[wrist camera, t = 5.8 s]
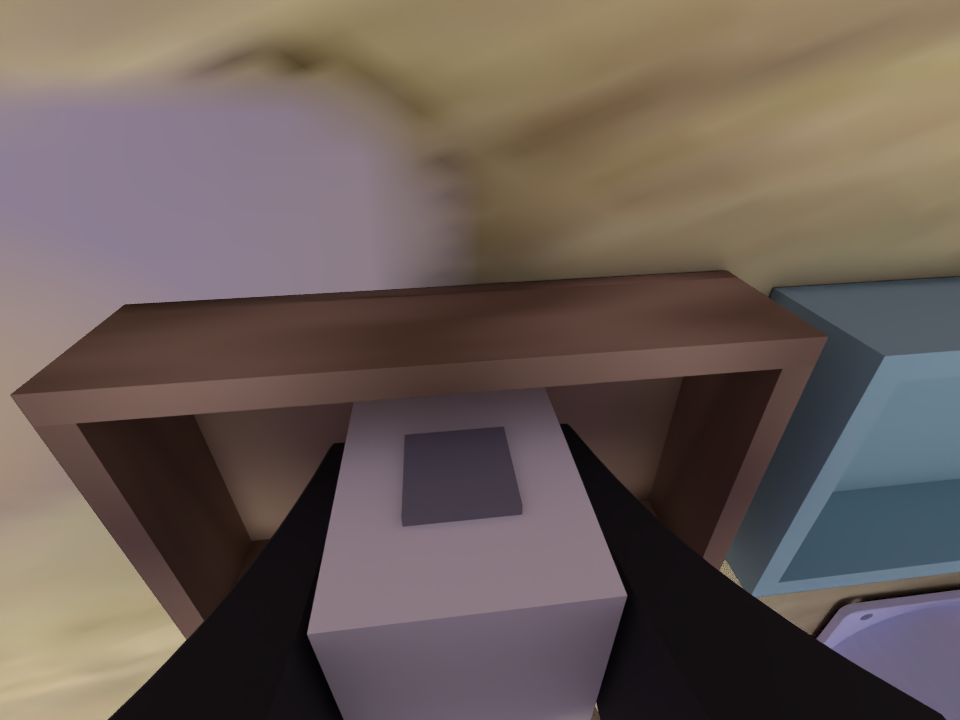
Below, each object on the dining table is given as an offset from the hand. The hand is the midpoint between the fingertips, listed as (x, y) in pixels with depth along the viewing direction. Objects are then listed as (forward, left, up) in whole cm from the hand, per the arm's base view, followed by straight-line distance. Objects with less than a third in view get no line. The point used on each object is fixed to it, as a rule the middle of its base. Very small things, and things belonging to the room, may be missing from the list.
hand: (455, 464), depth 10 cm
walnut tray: (0, 0, -1) cm, 1 cm away
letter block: (0, 0, -1) cm, 1 cm away
